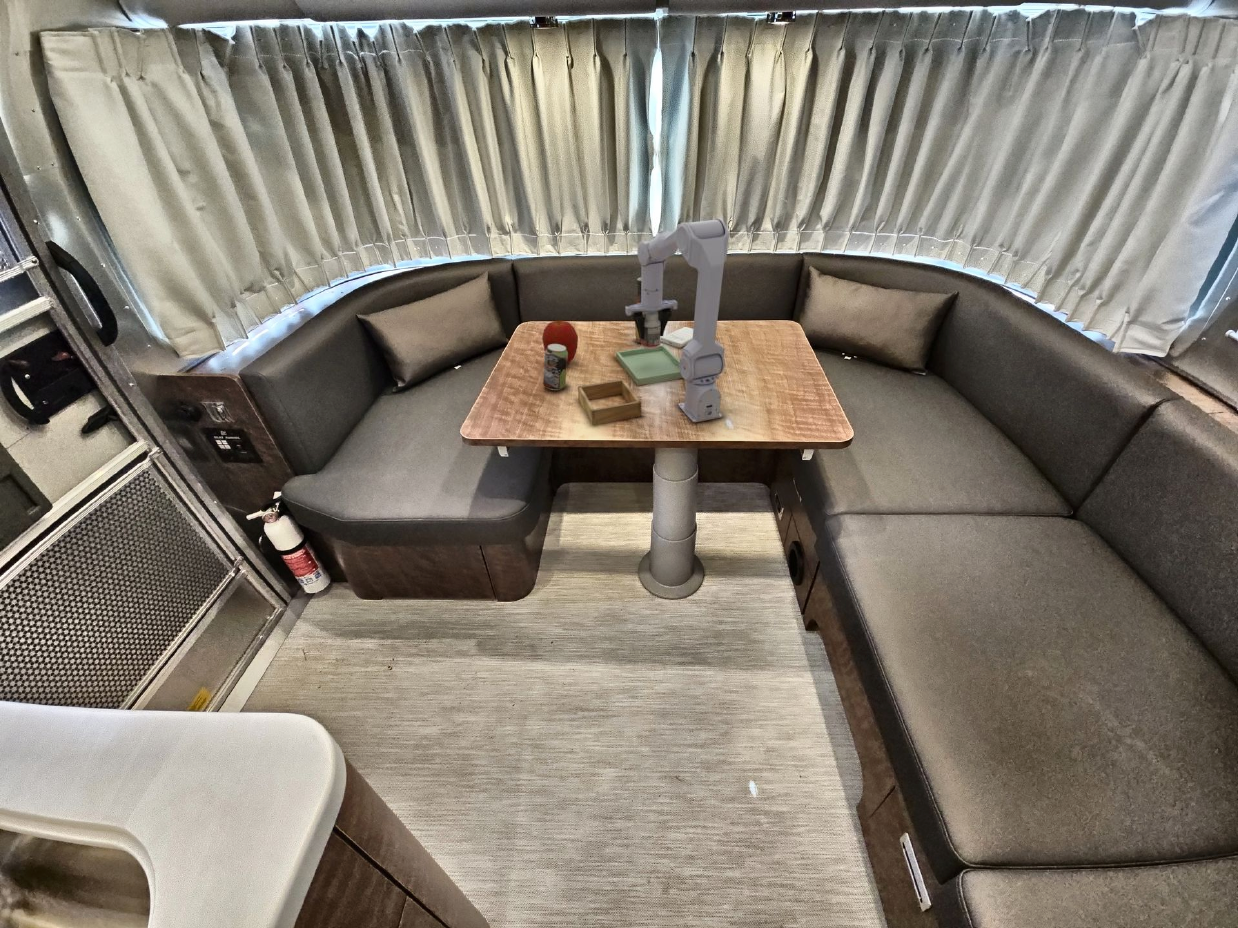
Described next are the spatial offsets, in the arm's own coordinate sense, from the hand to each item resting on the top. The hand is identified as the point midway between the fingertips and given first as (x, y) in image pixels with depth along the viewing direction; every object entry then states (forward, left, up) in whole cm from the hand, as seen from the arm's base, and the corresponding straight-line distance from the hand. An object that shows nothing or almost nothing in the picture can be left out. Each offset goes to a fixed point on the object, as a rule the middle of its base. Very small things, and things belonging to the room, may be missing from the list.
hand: (651, 336), depth 150 cm
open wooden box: (-19, +19, -10) cm, 28 cm away
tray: (0, 0, -10) cm, 10 cm away
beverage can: (-3, +29, -10) cm, 30 cm away
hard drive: (+16, -17, -10) cm, 26 cm away
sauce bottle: (+19, -5, -10) cm, 22 cm away
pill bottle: (0, 0, -3) cm, 3 cm away
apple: (+12, +24, -10) cm, 28 cm away
